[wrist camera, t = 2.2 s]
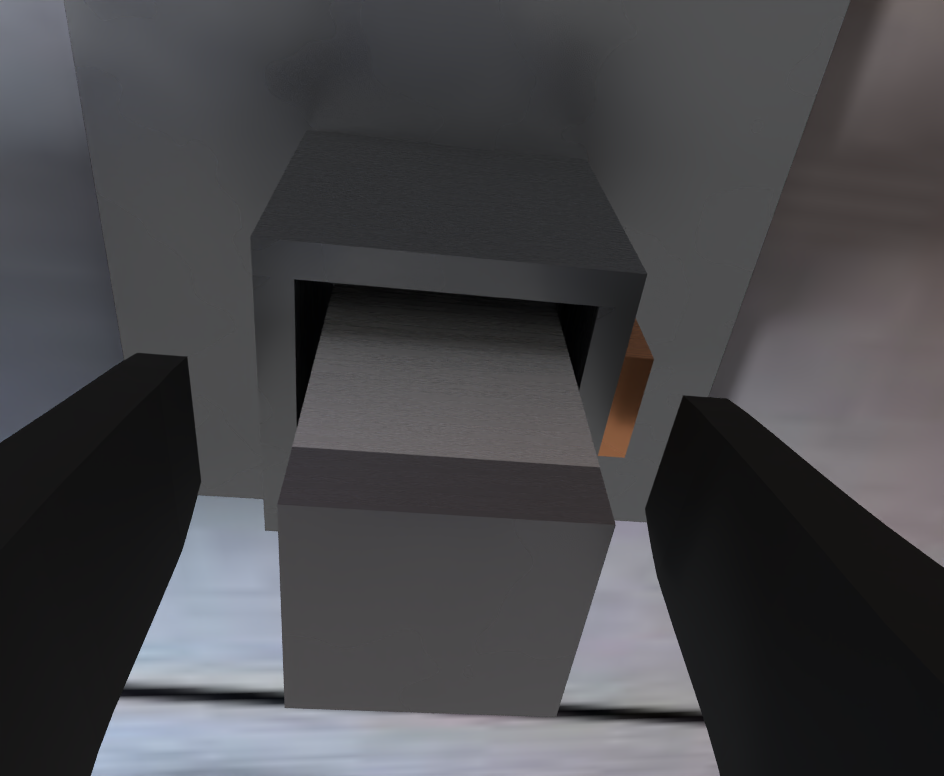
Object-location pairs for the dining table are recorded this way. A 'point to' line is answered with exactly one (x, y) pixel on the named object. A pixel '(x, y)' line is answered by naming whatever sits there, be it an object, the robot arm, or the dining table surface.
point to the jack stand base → (440, 188)
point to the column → (438, 509)
